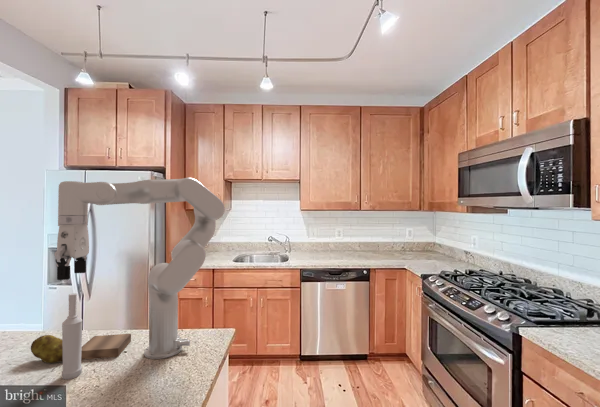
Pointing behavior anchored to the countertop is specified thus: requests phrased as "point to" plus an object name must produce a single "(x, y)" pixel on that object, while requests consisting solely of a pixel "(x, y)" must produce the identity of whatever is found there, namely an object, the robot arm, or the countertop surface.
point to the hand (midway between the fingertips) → (72, 276)
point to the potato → (48, 349)
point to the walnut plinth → (105, 346)
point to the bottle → (72, 341)
